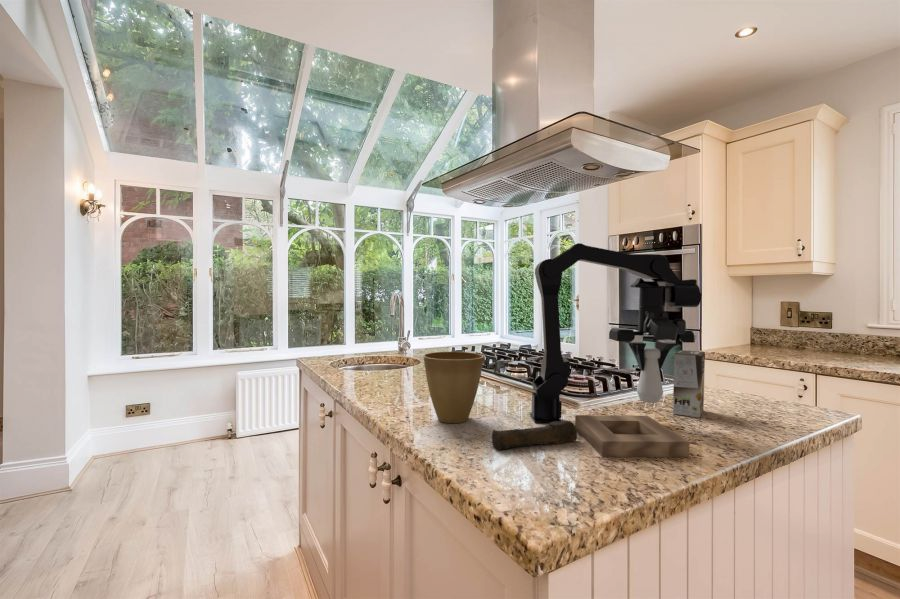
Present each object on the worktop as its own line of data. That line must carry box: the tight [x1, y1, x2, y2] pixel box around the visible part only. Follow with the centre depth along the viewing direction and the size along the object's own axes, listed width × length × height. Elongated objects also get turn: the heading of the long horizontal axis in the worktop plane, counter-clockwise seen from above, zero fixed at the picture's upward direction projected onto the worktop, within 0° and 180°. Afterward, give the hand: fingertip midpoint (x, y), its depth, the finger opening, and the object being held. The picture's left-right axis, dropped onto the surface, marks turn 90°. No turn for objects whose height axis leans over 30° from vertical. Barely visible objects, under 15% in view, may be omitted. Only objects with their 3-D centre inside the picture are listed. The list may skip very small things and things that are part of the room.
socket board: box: [574, 414, 691, 458], centre depth 90 cm, size 17×17×3 cm
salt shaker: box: [636, 347, 664, 404], centre depth 103 cm, size 6×6×13 cm
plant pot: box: [423, 351, 485, 424], centre depth 105 cm, size 15×15×16 cm
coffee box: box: [672, 349, 706, 419], centre depth 112 cm, size 9×6×16 cm
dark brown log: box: [491, 420, 578, 451], centre depth 87 cm, size 19×4×5 cm, turn 104°
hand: (650, 370), depth 103 cm, fingers closed on salt shaker, 4 cm apart
